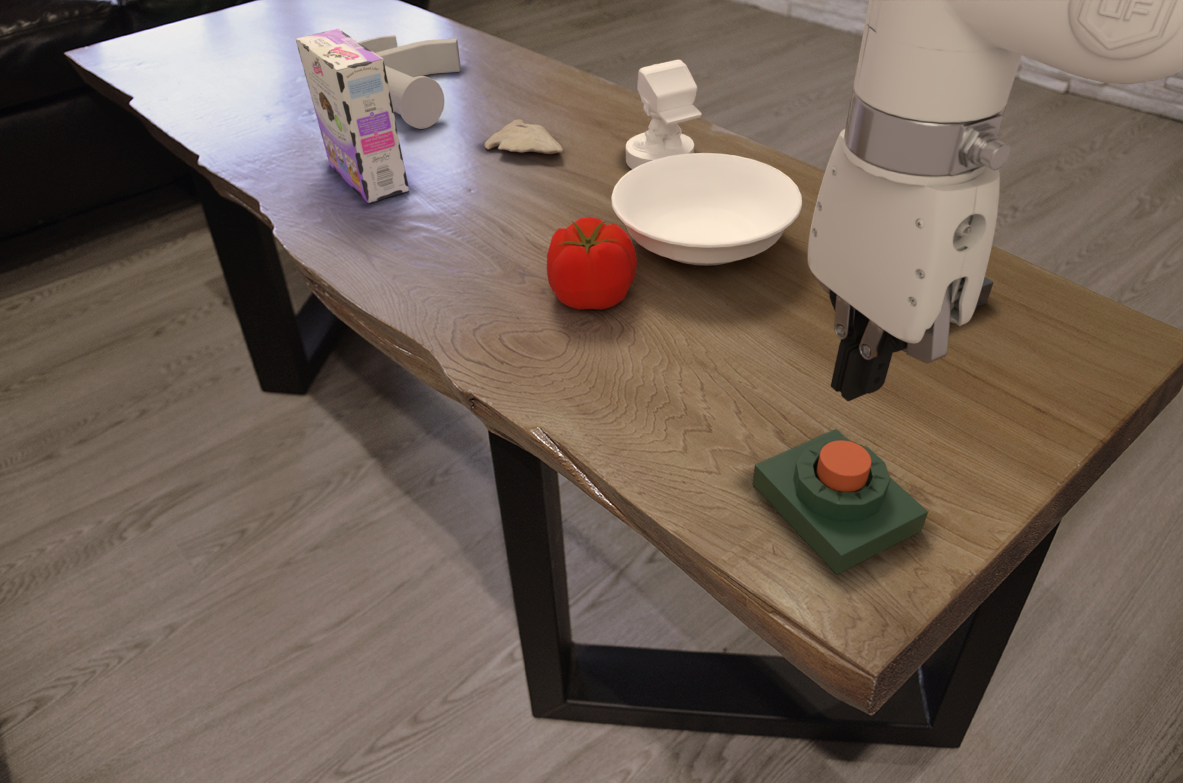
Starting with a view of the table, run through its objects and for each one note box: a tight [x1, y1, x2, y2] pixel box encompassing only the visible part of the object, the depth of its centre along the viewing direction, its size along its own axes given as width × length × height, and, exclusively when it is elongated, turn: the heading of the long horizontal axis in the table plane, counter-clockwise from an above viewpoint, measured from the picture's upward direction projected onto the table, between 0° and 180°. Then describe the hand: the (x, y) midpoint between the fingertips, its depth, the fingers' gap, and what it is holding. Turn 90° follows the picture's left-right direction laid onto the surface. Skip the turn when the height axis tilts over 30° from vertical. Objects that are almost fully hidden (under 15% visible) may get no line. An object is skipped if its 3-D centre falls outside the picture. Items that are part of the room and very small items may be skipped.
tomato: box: [546, 216, 638, 311], centre depth 84 cm, size 9×9×8 cm
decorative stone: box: [484, 119, 564, 155], centre depth 111 cm, size 8×12×3 cm
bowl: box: [610, 152, 803, 266], centre depth 91 cm, size 20×20×6 cm
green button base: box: [751, 428, 929, 575], centre depth 63 cm, size 10×8×4 cm
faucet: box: [358, 34, 462, 130], centre depth 127 cm, size 20×7×25 cm
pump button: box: [817, 440, 871, 492], centre depth 61 cm, size 4×4×2 cm
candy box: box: [295, 28, 410, 204], centre depth 103 cm, size 14×6×16 cm, turn 34°
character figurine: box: [625, 59, 703, 170], centre depth 104 cm, size 9×10×12 cm
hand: (856, 387), depth 57 cm, fingers closed
